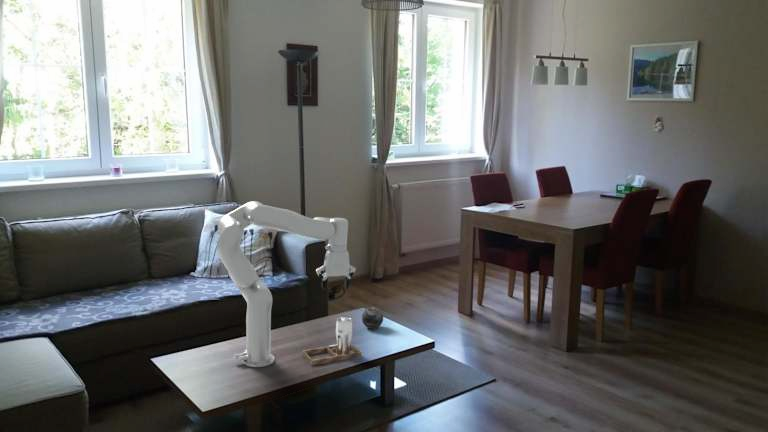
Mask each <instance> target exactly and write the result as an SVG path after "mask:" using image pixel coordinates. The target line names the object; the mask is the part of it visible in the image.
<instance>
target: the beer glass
mask: <svg viewBox="0 0 768 432" xmlns="http://www.w3.org/2000/svg"><path fill="white" fill-rule="evenodd" d="M353 329H354V328H353V319H352V318H350V317H345V316H343V317H338V318H337V319H336V323H335V338H336V344H337V350H336V351H335V354H336V355H337V356H338V355H344V354H350V353H351V349H350V343H352V342H351V341H352V337H353V331H354V330H353Z"/></svg>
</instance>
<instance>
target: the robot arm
mask: <svg viewBox="0 0 768 432" xmlns="http://www.w3.org/2000/svg"><path fill="white" fill-rule="evenodd" d="M251 225H253V226H257V227H261V228H266V229H270V230H278V231H280V232H281V231H283V232H286V233H290V234H295V235H299V236H303V237H308V238H312V239H316V240H324V241H325V240H326V241H327V240H328V243H327V245H325V246H324V248H325V250H326V253H325V256H324V261H323V265H322V266H320V267H317V268H316V269H315V272H316V274H317V276H318V278H320V279H321V289H323V290H324V291H326V290H327V286H328V285H327V282H328V281H327V279H328V277H330V278H331V277H344V279H343V287H344V288H345V289H349V286H350V279H352V277H353V276H354V274H355V272H356V270H357V268H356V267H355V266H353V265H352V264H350V254H349V250H347V248H348V232H349V221H348V219H346V218H343V217H323V216H316V217H314V218H311V217H308V216H305V215H303V214H300V213H298V212H296V211H293V210H290V209H286V208H280V207H275V206H271V205H266V204H263V203H262V202H259V201H257V200H252V201H248V202H247V203H245V204H243V205H241V206H239V207H237V208H236V209H235V210H233V211H230V212H229V213H227V214H225V215H224V216H222V217H221V218H220V219H219V221H218V223H217V231H218V233H219V234H220V235H219V238H218V240H217V246H216V249H217V254H218V256H219V259H220V260H221V262H222V264H223V265H224V267H225V269H226V271H227V273H228V276H229V278H230V280H231V281H232V282H233V284H234V285H235V287H236V288H237V290H238V291H239V292H240V294H241V296H242V297H243V299H244V300H245V301H246V305H247V307H246V317H245V323H246V324H245V326H246V330H245V332H246V333H245V334H246V339H245V340H246V341H245V342H246V343H245V344H246V346H245V347H246V348H245V349H243V352H241V353H234V354H233V356H234V357H233V358H234V360H239V361H241V362H242V364H244V365H245V366H247V367H250V368H262V367H268V366H270V365H272V364H274V362H275V356H274V355H273V354H272V353H271V349H272V348H271V347H272V346H271V345H272V344H271V341H272V339H271V336H272V335H271V333H272V332H271V330H272V329H271V328H272V327H271V326H272V325H271V324H272V309H273V308H272V306H273V294H272V292H271V291H270V289H269V288H268V287H267V285H265V284H264V282H263V281H262V279H261V278H260V276H259V275H258V273H257V271H256V269H255V267H254V266H253V264H252V263H251V261H249V260H248V258H247V257H246V255H245V252H244V251H243V250H242V248H241V241H242V240H243V238H244V236H245V235H244V234H245V229H246V228H248V227H250V226H251ZM321 272H323V273H321Z"/></svg>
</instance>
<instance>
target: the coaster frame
mask: <svg viewBox="0 0 768 432" xmlns="http://www.w3.org/2000/svg"><path fill="white" fill-rule="evenodd" d="M333 350H336V351H337V343H336V344H332V345H331V344H330V345H328V346H323V347H317V348H311V349H304V350H301V356H302V357H303V358H304V360H306V361H307V362H308V363H309V365H311V366H316V365H317V366H319V365H322V364H328V363H334V361H335V362H340V361H339V360H341V361H345V360H346V359H347V360H352V359H356V358H357V359H358V358H361V357H362V353H363V352H362V351H361V350H359V348H357V347H356V346H355V345H353V344H352V342H350V351H352V352H350V354H344V355H338V356H337V355H336V352H334V351H333ZM322 353H326V354H328V355H329V356H327V357H321V358H316V359H315V358H314V359H313V358H312V357H311V355H317V354H322Z"/></svg>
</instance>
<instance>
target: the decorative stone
mask: <svg viewBox="0 0 768 432" xmlns="http://www.w3.org/2000/svg"><path fill="white" fill-rule="evenodd" d="M361 320H362V321H361V322H362V324H363V325H364V326H365V327H366V328H367V329H373V330H374V329H377V328H379V327H380V326H381V325H382V324H383V322H384V315H383V313H382V310H381V309H379V308H378V307H376V306H369V307H367V308H366V309H364V311H363V312H362V316H361Z"/></svg>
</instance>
